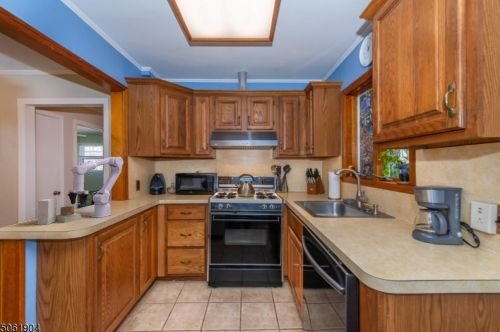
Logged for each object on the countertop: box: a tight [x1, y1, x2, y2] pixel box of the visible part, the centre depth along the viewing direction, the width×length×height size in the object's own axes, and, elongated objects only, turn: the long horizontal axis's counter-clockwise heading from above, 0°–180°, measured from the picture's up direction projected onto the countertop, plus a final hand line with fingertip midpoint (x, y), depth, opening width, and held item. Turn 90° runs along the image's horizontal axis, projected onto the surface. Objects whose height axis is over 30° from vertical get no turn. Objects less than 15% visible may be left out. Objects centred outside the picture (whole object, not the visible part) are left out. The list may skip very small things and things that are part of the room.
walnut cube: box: [59, 205, 75, 216], centre depth 158 cm, size 5×5×5 cm
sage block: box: [55, 212, 82, 223], centre depth 158 cm, size 10×10×4 cm
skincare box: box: [37, 198, 58, 226], centre depth 149 cm, size 8×6×15 cm
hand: (77, 204), depth 157 cm, fingers open, 7 cm apart
